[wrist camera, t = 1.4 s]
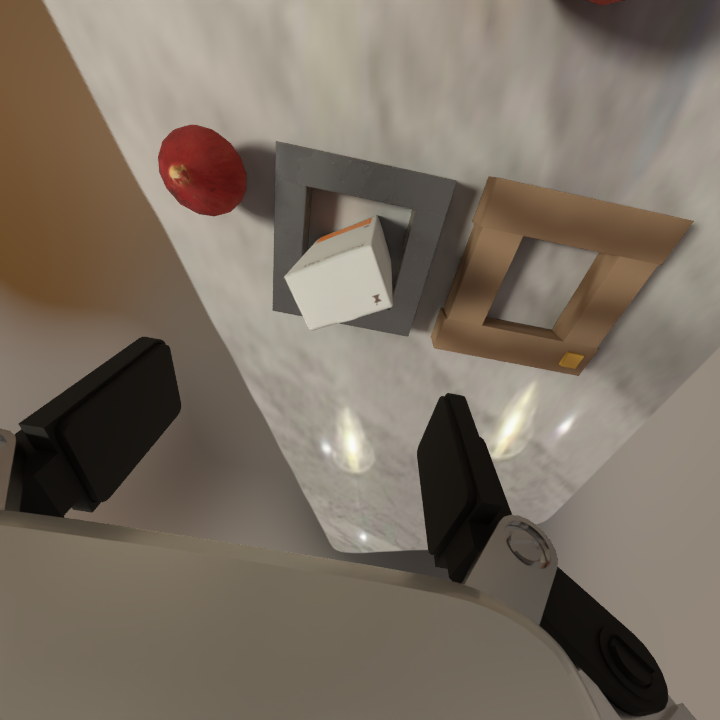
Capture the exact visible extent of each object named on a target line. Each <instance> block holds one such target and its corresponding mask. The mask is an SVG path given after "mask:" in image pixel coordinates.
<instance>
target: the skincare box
mask: <svg viewBox="0 0 720 720" xmlns="http://www.w3.org/2000/svg"><path fill="white" fill-rule="evenodd" d="M284 278H285V280H286V282H287V284H288V286H289V288H290V290H291V292H292V295H293V297H294V299H295V301H296V303H297V305H298V307H299V309H300V311H301V314H302V316H303V318H304V320H305V322H306V324H307V326H308V328H309V330H311V331H313V330H316V329H320V328H323V327H327V326H330V325H333V324H337V323H342V322H347V321H351V320H354V319H356V318H359V317H362V316H365V315H368V314H371V313H374V312H378V311H381V310H384V309H388V308H391V307H392V306H393V299H392V271H391V257H390V254H389V250H388V246H387V243H386V240H385V236H384V233H383V230H382V226H381V223H380V220H379V217H378V215H376V216H374V217H371V218H369V219H367V220H364V221H362V222H359V223H357V224H354V225H352V226H349V227H347V228H344V229H341V230H338V231H335V232H333V233H330V234H327V235H324V236H321V237H320V238H319V239H318V240H317V241H316V242H315V243H314V244H313V245H312V246H311V248H310V249H309V250H308V251H307V252H306V253H305V254H304V255H303V256H302V257H301V259H300V260H299V261H298V262H297V263H296V264H295V265H294V266H293V267H292V269H291V270H290V271H289V272H288V273H287V274H286V275H285V276H284Z"/></svg>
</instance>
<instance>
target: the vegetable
mask: <svg viewBox="0 0 720 720" xmlns="http://www.w3.org/2000/svg"><path fill="white" fill-rule="evenodd" d="M588 1H591V2H594V3H597V4H600V5H605V4H610V3H614V2H619V1H623V0H588Z"/></svg>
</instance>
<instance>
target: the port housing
mask: <svg viewBox="0 0 720 720" xmlns="http://www.w3.org/2000/svg"><path fill="white" fill-rule="evenodd" d="M472 222H474V223H475V224H474V227H473V229H472V232H471V235H470V237H469V240H468V243H467V246H466V248H465V251H464V254H463V257H462V259H461V262H460V265H459V267H458V270H457V273H456V276H455V278H454V281H453V284H452V287H451V289H450V292H449V295H448V297H447V300H446V303H445V306H444V308H441V310H440V313H439V315H438V318H437V321H436V324H435V326H434V329H433V332H432V335H431V339H432V342H433V346H434V348H436V349H441V350H447V351H452V352H457V353H462V354H468V355H473V356H478V357H483V358H488V359H494V360H499V361H504V362H509V363H514V364H520V365H525V366H530V367H535V368H541V369H546V370H551V371H556V372H561V373H567V374H572V375H577V376H579V375H580V373H581V372H582V371H583V369H584V368H585V367H586V365H587V364H588V363H589V361H590V360H591V359H592V357H593V356H594V355H595V353H596V352H597V351H598V349H599V348H598V346H599V344H600V343H601V342H602V340H603V339H604V338H605V336H606V335H607V333H608V332H609V331H610V329H611V328H612V327H613V325H614V324H615V323H616V321H617V320H618V319H619V317H620V316H621V314H622V313H623V312H624V310H625V309H626V308H627V306H628V305H629V304H630V302H631V301H632V300H633V298H634V297H635V296H636V294H637V293H638V291H639V290H640V289H641V287H642V286H643V285H644V283H645V282H646V281H647V279H648V278H649V277H650V275H651V274H652V273H653V271H654V270H655V268H656V267H657V266H658V265H662V263H663V262H664V261H665V259H666V258H667V257H668V255H669V254H670V253H671V251H672V250H673V249H674V247H675V246H676V245H677V243H678V242H679V240H680V239H681V238H682V236H683V235H684V234H685V232H686V231H687V230H688V228H689V227H690V226H691V224H692V223H693V222H694V221H691V220H687V219H682V218H678V217H673V216H669V215H664V214H660V213H655V212H651V211H646V210H642V209H637V208H633V207H628V206H624V205H619V204H615V203H610V202H605V201H601V200H596V199H592V198H587V197H583V196H578V195H574V194H569V193H565V192H560V191H556V190H551V189H547V188H542V187H538V186H533V185H529V184H524V183H520V182H515V181H511V180H506V179H501V178H496V177H488V180H487V183H486V185H485V188H484V191H483V194H482V196H481V199H480V202H479V205H478V208H477V210H476V213H475V216H474V219H473V221H472ZM523 236H526V237H531V238H536V239H541V240H545V241H550V242H555V243H559V244H564V245H569V246H573V247H578V248H583V249H588V250H592V251H597V252H600V253H599V254H598V256H597V257H596V259H595V261H594V262H593V264H592V266H591V267H590V269H589V270H588V272H587V274H586V275H585V277H584V279H583V280H582V282H581V283H580V285H579V287H578V288H577V290H576V292H575V293H574V295H573V296H572V298H571V300H570V301H569V303H568V305H567V306H566V308H565V309H564V311H563V313H562V314H561V316H560V318H559V319H558V321H557V322H556V324H555V326H554V327H553V329H552V330H550V329H544V328H539V327H534V326H529V325H524V324H519V323H514V322H509V321H504V320H499V319H494V318H489V317H486V316H487V314H488V311H489V309H490V307H491V305H492V303H493V301H494V298H495V296H496V294H497V292H498V290H499V288H500V285H501V283H502V281H503V279H504V277H505V275H506V272H507V270H508V268H509V266H510V264H511V262H512V259H513V257H514V255H515V253H516V251H517V249H518V246H519V244H520V242H521V240H522V238H523Z"/></svg>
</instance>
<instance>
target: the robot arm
mask: <svg viewBox="0 0 720 720" xmlns="http://www.w3.org/2000/svg"><path fill="white" fill-rule="evenodd" d="M180 410H181V401H180V396H179V391H178V386H177V381H176V376H175V371H174V366H173V361H172V356H171V351H170V347H169V346H167V345H166V344H165V342H164V341H163V340H160V339H154V338H149V337H141V338H139V339H138V340H136V341H135V342H133V343H132V344H130V345H129V346H128V347H126V348H125V349H123V350H122V351H121V352H119V353H118V354H116V355H115V356H114V357H112V358H111V359H109V360H108V361H106V362H105V363H104V364H102V365H101V366H99V367H98V368H97V369H95V370H94V371H92V372H91V373H89V374H88V375H87V376H85V377H84V378H83V379H81V380H80V381H78V382H77V383H75V384H74V385H73V386H71V387H70V388H68V389H67V390H65V391H64V392H63V393H62V394H60V395H59V396H57V397H56V398H54V399H53V400H51V401H50V402H49V403H47V404H46V405H44V406H43V407H41V408H40V409H39V410H37V411H36V412H34V413H33V414H32V415H30V416H29V417H28V418H26V419H24V420H23V421H22V422H20V423H19V425H20V427H21V430H20V431H19V432H17V433H16V434H13V433H12V432H11V431H9V430H5V429H0V720H696V719H695V717H694V716H693V715H692V714H691V713H690V711H689V710H688V709H687V708H686V707H685V705H684V704H683V703H680V704H675V702H674V701H673V700H672V699H671V698H670V696H669V695H668V690H667V685H666V683H665V680H664V676H663V674H662V672H661V670H660V668H659V666H658V664H657V663H656V661H655V659H654V657H653V656H652V655H651V653H650V652H649V651H648V649H647V648H646V647H645V646H644V644H643V643H642V642H641V641H640V640H639V639H638V638H637V637H636V636H635V635H634V634H633V633H632V632H631V631H629V630H628V629H627V628H626V627H625V626H624V625H623V624H622V623H621V622H619V621H618V620H617V619H616V618H615V617H614V616H612V615H611V614H610V613H609V612H608V611H607V610H606V609H605V608H604V607H603V606H601V605H600V604H599V603H598V602H597V601H596V600H595V599H594V598H592V597H591V596H590V595H589V594H588V593H587V592H586V591H584V590H583V589H582V588H581V587H580V586H579V585H578V584H577V583H575V582H574V581H573V580H572V579H571V578H570V577H569V576H568V575H566V574H565V573H564V572H563V571H562V570H561V569H560V568H558V567H557V565H558V558H557V554H556V550H555V548H554V546H553V544H552V543H551V541H550V539H549V538H548V537H547V535H546V534H545V533H544V532H543V531H542V530H541V529H540V528H539V527H538V526H537V525H536V524H534V523H533V522H531V521H530V520H528V519H526V518H523V517H521V516H518V515H512V513H511V511H510V508H509V505H508V503H507V500H506V497H505V494H504V492H503V489H502V486H501V484H500V481H499V478H498V476H497V473H496V470H495V467H494V465H493V462H492V459H491V457H490V454H489V451H488V449H487V446H486V443H485V441H484V439H482V438H481V437H479V434H478V432H477V429H476V426H475V423H474V420H473V418H472V415H471V412H470V409H469V406H468V404H467V401H466V398H465V397H464V396H461V395H456V394H451V393H447V394H446V395H445V397H444V396H441V397H440V398H439V400H438V402H437V405H436V407H435V409H434V412H433V414H432V416H431V419H430V421H429V423H428V425H427V428H426V430H425V432H424V435H423V437H422V439H421V442H420V444H419V446H418V450H417V459H418V468H419V476H420V484H421V493H422V501H423V510H424V518H425V527H426V535H427V543H428V550H429V553H430V554H431V555H434V559H435V566H436V567H440V568H446V569H448V574H449V578H450V579H451V580H452V581H448V580H444V579H439V578H435V577H430V576H426V575H420V574H415V573H409V572H404V571H398V570H393V569H387V568H382V567H376V566H370V565H364V564H358V563H352V562H346V561H339V560H333V559H327V558H321V557H315V556H308V555H302V554H296V553H290V552H284V551H278V550H271V549H265V548H258V547H252V546H246V545H240V544H233V543H227V542H220V541H213V540H208V539H201V538H194V537H188V536H182V535H176V534H169V533H162V532H156V531H148V530H143V529H136V528H129V527H122V526H116V525H110V524H103V523H96V522H89V521H83V520H76V519H69V518H64V515H65V513H67V511H68V510H69V509H70V508H71V507H72V508H73V509H74V510H80V511H86V512H93V511H94V510H95V509H96V508H97V506H98V505H99V504H100V503H101V502H104V501H106V500H108V499H109V498H110V497H111V495H113V493H114V492H115V491H116V489H117V488H118V487H119V486H120V485H121V483H122V482H123V481H124V480H125V479H126V478H127V476H128V475H129V474H130V473H131V471H132V470H133V469H134V468H135V467H136V465H137V464H138V463H139V462H140V460H141V459H142V458H143V457H144V456H145V454H146V453H147V452H148V451H149V450H150V448H151V447H152V446H153V445H154V443H155V442H156V441H157V440H158V439H159V437H160V436H161V435H162V434H163V432H164V431H165V430H166V429H167V428H168V426H169V425H170V424H171V423H172V421H173V420H174V419H175V418H176V417H177V416H178V414H179V412H180Z"/></svg>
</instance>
